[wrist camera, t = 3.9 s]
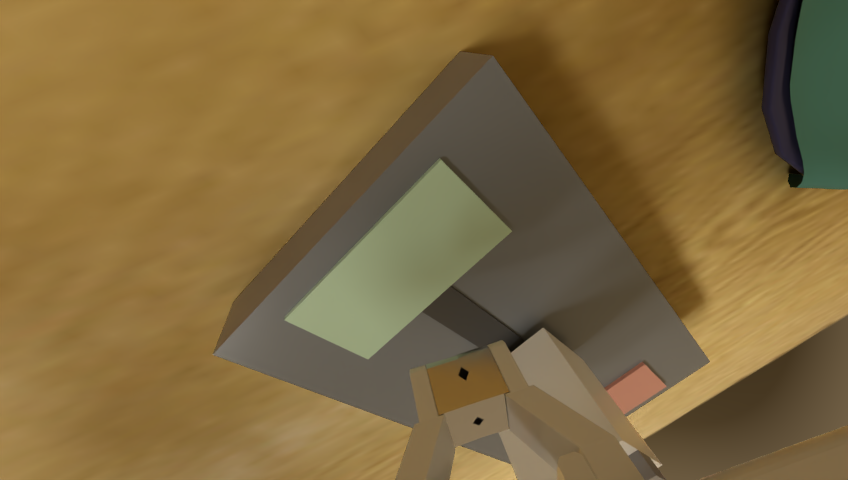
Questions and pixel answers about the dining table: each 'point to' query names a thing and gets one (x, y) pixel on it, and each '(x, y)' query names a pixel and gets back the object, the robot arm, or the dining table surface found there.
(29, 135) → the dining table surface
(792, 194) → the dining table surface
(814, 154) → the cutlery set
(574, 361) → the handle
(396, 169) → the breaker panel
